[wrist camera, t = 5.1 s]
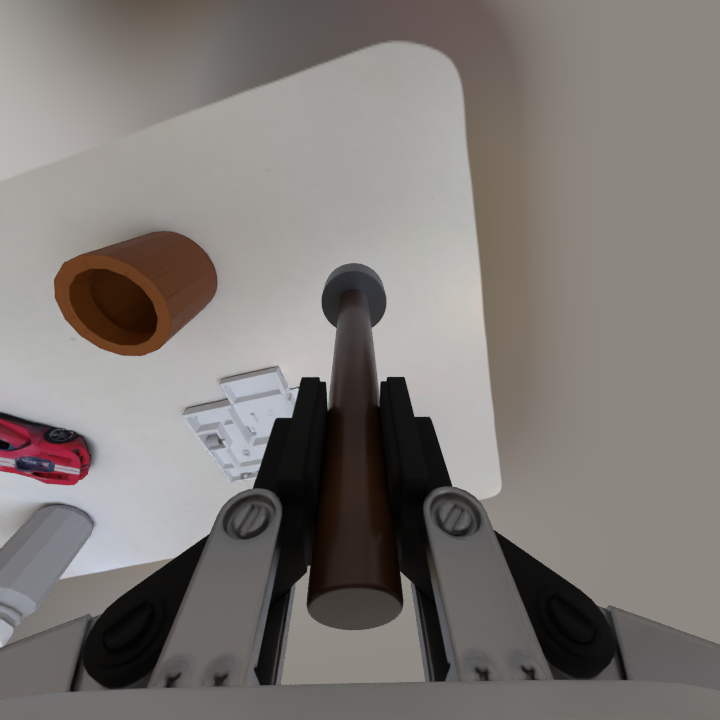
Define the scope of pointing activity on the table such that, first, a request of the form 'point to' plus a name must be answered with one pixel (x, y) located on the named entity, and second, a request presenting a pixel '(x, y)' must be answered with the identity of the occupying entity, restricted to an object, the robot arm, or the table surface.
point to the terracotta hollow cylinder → (136, 291)
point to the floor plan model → (242, 421)
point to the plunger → (354, 470)
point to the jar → (38, 561)
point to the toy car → (42, 452)
